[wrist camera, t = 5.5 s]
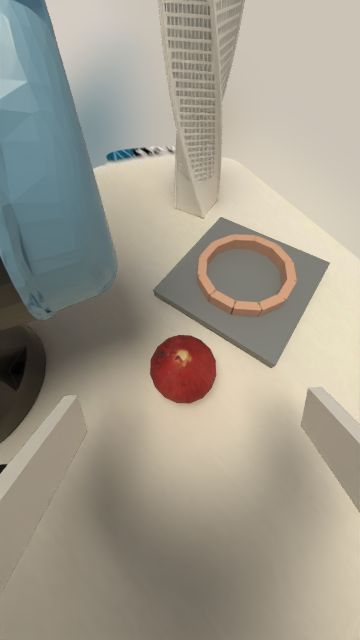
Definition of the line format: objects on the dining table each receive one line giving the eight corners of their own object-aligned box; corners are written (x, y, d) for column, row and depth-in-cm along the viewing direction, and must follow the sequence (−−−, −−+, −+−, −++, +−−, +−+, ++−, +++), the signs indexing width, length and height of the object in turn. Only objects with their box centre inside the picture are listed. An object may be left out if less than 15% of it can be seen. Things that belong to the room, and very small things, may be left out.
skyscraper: (163, 209, 33) (77, -456, 8) (186, 185, 36) (175, -371, 10) (205, 224, 31) (273, -613, 6) (226, 198, 34) (334, -458, 8)
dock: (271, 367, 21) (281, 361, 18) (154, 295, 26) (151, 282, 23) (324, 269, 26) (338, 254, 24) (219, 223, 31) (222, 207, 28)
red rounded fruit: (147, 389, 21) (124, 375, 13) (171, 341, 23) (162, 307, 16) (199, 415, 19) (205, 414, 12) (219, 361, 21) (233, 334, 14)
